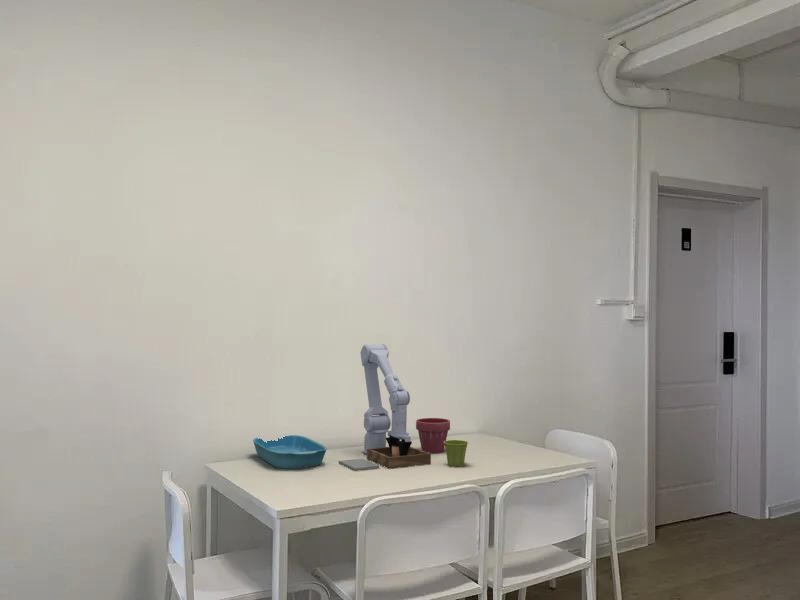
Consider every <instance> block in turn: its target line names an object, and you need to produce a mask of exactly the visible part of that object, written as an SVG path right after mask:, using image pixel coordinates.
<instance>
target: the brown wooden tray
mask: <svg viewBox="0 0 800 600" xmlns="http://www.w3.org/2000/svg"><path fill="white" fill-rule="evenodd" d="M431 456H432V453H428V452H425V451H422V449H419V448H415V447H413V446H410V447H409V450H408V453H407V456H397V457H392V456H391V453H390V448H389V446H386V447H384V448H373V449H367V454H366V460H367V459H368V460H367V461H370V460H371V461H370V462H372V461H373V462H372V463H374V462H375V463H374V464H377V463H378V464H377V465H379V464H380V465H379V466H381V465H383V466H382V467H384V466H385V467H384V468H386V467H387V468H386V469H388V468H392V469H399V468H398V467H401V468H406V467H405V466H410V467H416V466H415V465H419V466H425V465H424V464H428V465H431V463H432V459H431V458H432V457H431Z"/></svg>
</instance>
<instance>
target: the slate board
mask: <svg viewBox="0 0 800 600" xmlns="http://www.w3.org/2000/svg"><path fill="white" fill-rule="evenodd" d="M338 465H341V466H343V465H344V466H343V467H345V466H346V467H345V468H347V467H348V468H347V469H349V468H350V469H349V470H351V469H352V471H353V470H354V471H353V472H359V471H358V470H361V471H368V470H367V469H370V470H376V469H375V468H379V469H380V465H379V464H377V463H374V462H372V461H370V460H367V459H364V458H354V459H343V460H338Z"/></svg>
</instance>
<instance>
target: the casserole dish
mask: <svg viewBox="0 0 800 600" xmlns="http://www.w3.org/2000/svg"><path fill="white" fill-rule="evenodd" d="M288 435H289V436H285V437H283V439H282V438H281V439H279V438H278V441H275V440H274V441H272V440H271V441H267V443H266V442H264V441H263V440H262V439H260V438H259V439H258V437H256V438H255V437H254V438H253V440H252V441H253V445H254V448H255V452H256V454H257V455H258V457H260V458H261V459H263V461H265V460H266V461H265V462H267V463H268V464H270V465H271V466H273V467H275V468H277V469H280V468H281V470H294V469H293V468H295V469H301V468H302V469H303V468H304V467H305V468H311V467H313V466H314V467H317V466H319V465H320V464H322V462H323V460H324V457H325V454H326V452H327V448H328V447H327V446H325V445H324V444H323V443H322V444H321V443H320V442H317V441H315V440H314V439H311V438H309V437H306V436H303V435H298V434H295V435H294V434H288Z"/></svg>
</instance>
